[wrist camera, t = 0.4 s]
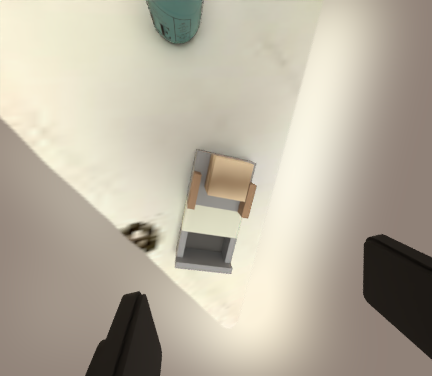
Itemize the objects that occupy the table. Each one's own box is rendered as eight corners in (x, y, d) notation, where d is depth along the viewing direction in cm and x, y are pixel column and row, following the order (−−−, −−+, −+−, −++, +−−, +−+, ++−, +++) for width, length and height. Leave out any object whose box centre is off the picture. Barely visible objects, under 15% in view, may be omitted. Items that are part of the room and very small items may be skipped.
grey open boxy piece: (196, 149, 34) (198, 151, 28) (249, 160, 35) (262, 165, 30) (176, 251, 37) (174, 271, 31) (225, 257, 39) (232, 278, 33)
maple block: (211, 153, 31) (216, 156, 26) (243, 160, 32) (254, 164, 27) (204, 186, 32) (207, 195, 27) (235, 192, 33) (244, 201, 28)
